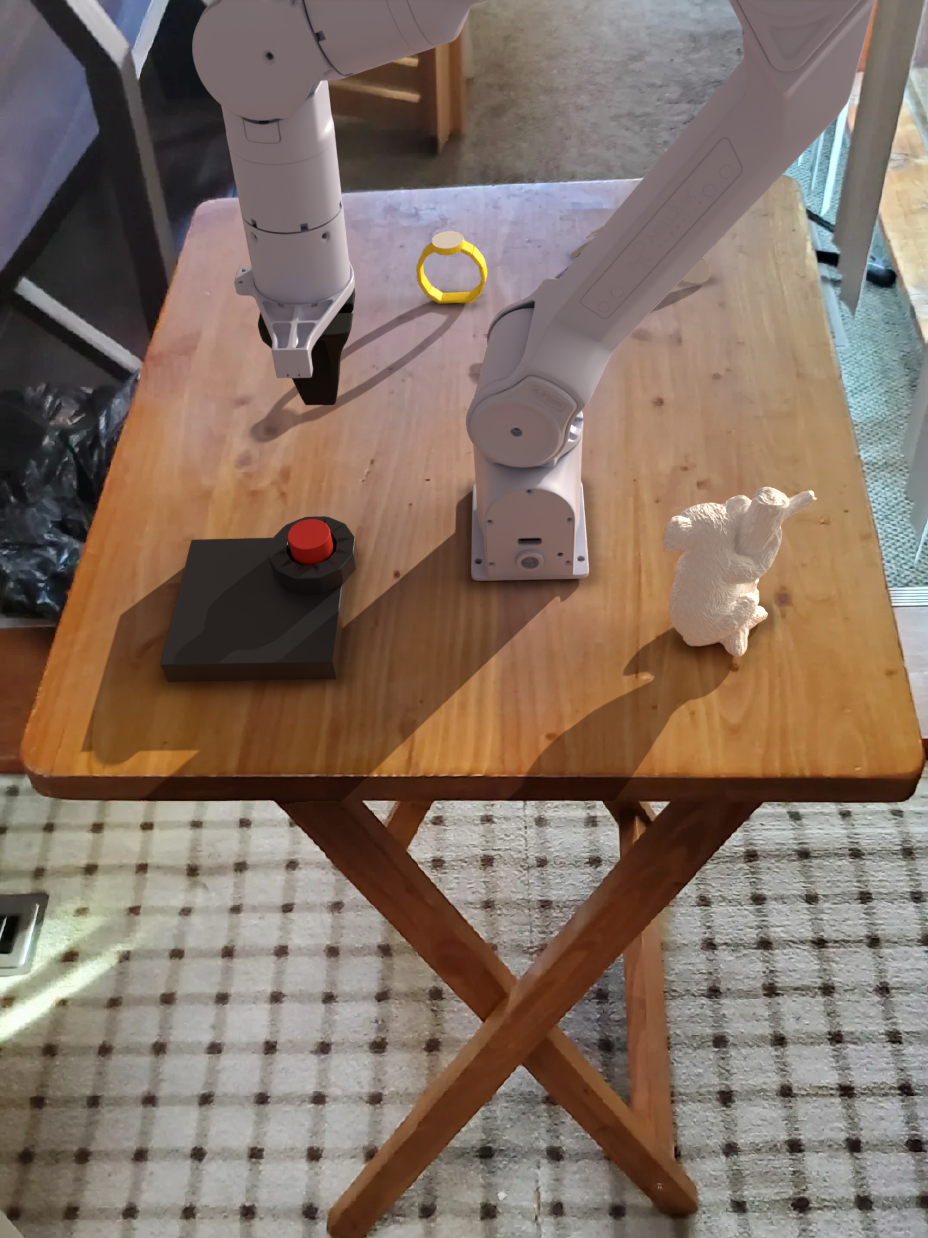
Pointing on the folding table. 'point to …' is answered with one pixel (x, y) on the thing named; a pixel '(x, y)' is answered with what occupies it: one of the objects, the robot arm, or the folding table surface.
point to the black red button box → (259, 610)
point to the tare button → (310, 542)
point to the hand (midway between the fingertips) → (320, 398)
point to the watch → (447, 246)
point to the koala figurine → (726, 564)
